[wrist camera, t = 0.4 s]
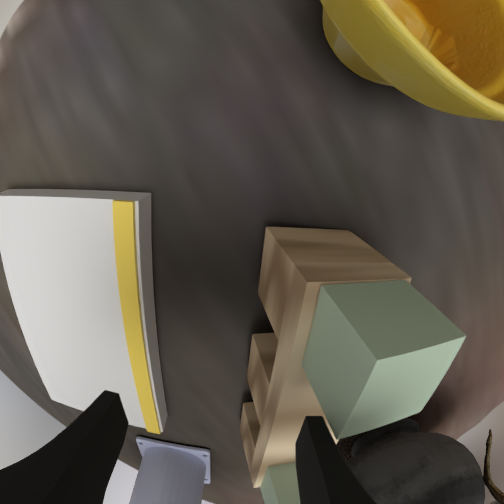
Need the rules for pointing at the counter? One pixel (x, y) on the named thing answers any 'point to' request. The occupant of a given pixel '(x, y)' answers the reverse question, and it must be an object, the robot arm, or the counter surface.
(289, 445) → the tan wooden bar
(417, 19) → the plant pot
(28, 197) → the dock
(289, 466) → the block
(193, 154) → the counter surface
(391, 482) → the pitcher
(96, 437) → the robot arm
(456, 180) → the counter surface
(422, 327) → the block
